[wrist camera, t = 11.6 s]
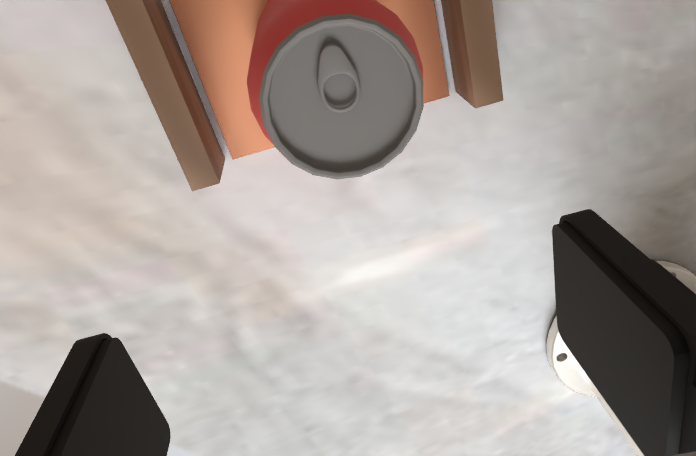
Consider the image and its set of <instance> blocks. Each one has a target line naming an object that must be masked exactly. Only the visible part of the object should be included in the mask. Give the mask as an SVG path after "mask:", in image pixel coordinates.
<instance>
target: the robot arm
mask: <svg viewBox="0 0 696 456" xmlns="http://www.w3.org/2000/svg"><path fill="white" fill-rule="evenodd" d="M552 236H553V255H554V275H555V295H556V314H557V316H556V317H555V319H554V321H553V323H552V326H551V328H550V330H549V334H548V339H547V357H548V360H549V363H550V366H551V367H552V369H553V371H554V372H555V374H556V376H557V377H558V378H559V380H560V381H561V382H562V383H563V384H564V385H565V386H567V387H568V388H570V389H571V390H572V391H575V392H577V393H580V394H582V395H586V396H591V397H597V399H598V400H599V402H600V403H601V405H602V406H603V407H604V409H605V410H606V412H607V413H608V415H609V416H610V417H611V419H612V420H613V422H614V423H615V425H616V426H617V427H618V429H619V430H620V432H621V433H622V434H623V436H624V437H625V439H626V440H627V442H628V443H629V444H630V446H631V447H632V449H633V450H634V452H635V453H636V454H637V456H696V276H695V275H694V274H693V273H691V272H690V271H689V270H687V269H685V268H683V267H682V266H680V265H678V264H674V263H670V262H666V261H654V260H650V259H649V258H648V257H647V256H645V255H644V254H643V253H642V252H641V251H640V250H638V249H637V248H636V247H635V246H634V245H633V244H631V243H630V242H629V241H628V240H627V239H626V238H624V237H623V236H622V235H621V234H620V233H619V232H617V231H616V230H615V229H614V228H613V227H611V226H610V225H609V224H608V223H607V222H606V221H604V220H603V219H602V218H601V217H600V216H599V215H597V214H596V213H595V212H594V211H592V210H591V209H587V210H583V211H579V212H576V213H572V214H568V215H564V216H562V217H561V218H560V221H559V224H557V225H554V226H553V229H552ZM169 443H170V428H169V425H168V423H167V421H166V419H165V417H164V415H163V414H162V412H161V410H160V408H159V407H158V405H157V403H156V401H155V400H154V398H153V396H152V394H151V393H150V391H149V389H148V387H147V386H146V384H145V382H144V380H143V379H142V377H141V375H140V374H139V372H138V370H137V368H136V367H135V365H134V363H133V361H132V360H131V358H130V356H129V354H128V353H127V351H126V349H125V347H124V346H123V344H122V342H121V341H120V340H119V339H118V338H112V337H111V336H110V335H108V334H105V333H103V334H99V335H95V336H91V337H87V338H84V339H80V340H77V341H76V342H75V343H74V345H73V347H72V349H71V350H70V352H69V354H68V356H67V358H66V360H65V362H64V364H63V366H62V367H61V369H60V371H59V373H58V375H57V377H56V379H55V381H54V383H53V384H52V386H51V388H50V390H49V392H48V394H47V396H46V398H45V400H44V401H43V403H42V405H41V407H40V409H39V411H38V413H37V415H36V417H35V419H34V420H33V422H32V424H31V426H30V428H29V430H28V432H27V434H26V436H25V438H24V439H23V441H22V443H21V445H20V447H19V449H18V451H17V453H16V455H15V456H167V451H168V447H169Z"/></svg>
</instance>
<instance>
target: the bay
mask: <svg viewBox="0 0 696 456" xmlns="http://www.w3.org/2000/svg"><path fill="white" fill-rule="evenodd" d="M169 1H170V3H171V6H172V8H173V11H174V13H175V16H176V18H177V21H178V23H179V26H180V28H181V31H182V33H183V36H184V38H185V41H186V43H187V46H188V48H189V51H190V54H191V56H192V59H193V61H194V64H195V66H196V69H197V71H198V74H199V76H200V79H201V81H202V84H203V86H204V89H205V91H206V94H207V96H208V99H209V101H210V104H211V106H212V109H213V111H214V114H215V116H216V119H217V121H218V124H219V126H220V129H221V131H222V134H223V137H224V139H225V142H226V144H227V147H228V149H229V152H230V154H231V157H232V159H236V158H239V157H243V156H246V155H250V154H253V153H256V152H260V151H263V150H267V149H270V148H274V147H275V146H274V145H273V144H272V143H271V142H270V141H269V140H268V139H267V138H266V137H265V135H264V134H263V132H262V130H261V128H260V126H259V124H258V122H257V120H256V118H255V116H254V114H253V112H252V110H251V106H250V100H249V94H248V87H247V76H248V70H249V63H250V57H251V51H252V47H253V42H254V38H255V33H256V28H257V24H258V19H259V17H260V15H261V13H262V11H263V10H264V8H265V6H266V4H267V2H268V0H169ZM376 1H378V2H379V3H380V4H382V5H383V6H385V7H386V8H388V9H389V10H391V11H392V12H394V13H395V14H397V16H398V17H399V18H400V20H401V21H402V22H403V24H404V25H405V26H406V28H407V29H408V31H409V32H410V33H411V35H412V36H413V37H414V40H415V43H416V46H417V49H418V52H419V55H420V58H421V61H422V65H423V104H424V103H427V102H430V101H434V100H437V99H441V98H444V97H447V96H449V90H448V84H447V78H446V72H445V66H444V60H443V54H442V48H441V42H440V36H439V30H438V24H437V18H436V12H435V6H434V0H376ZM106 2H107V4H108V6H109V9H110V11H111V13H112V15H113V17H114V20H115V22H116V24H117V26H118V29H119V31H120V33H121V35H122V37H123V40H124V42H125V44H126V46H127V48H128V51H129V53H130V55H131V57H132V59H133V62H134V64H135V66H136V68H137V70H138V73H139V75H140V77H141V79H142V81H143V84H144V86H145V88H146V90H147V92H148V95H149V97H150V99H151V101H152V104H153V106H154V108H155V110H156V112H157V115H158V117H159V119H160V121H161V123H162V126H163V128H164V130H165V132H166V134H167V137H168V139H169V141H170V143H171V145H172V148H173V150H174V152H175V154H176V156H177V159H178V161H179V163H180V165H181V167H182V170H183V172H184V174H185V176H186V179H187V181H188V183H189V185H190V187H191V190H192V191H195V190H198V189H202V188H205V187H208V186H212V185H215V184H219V183H220V179H221V174H222V170H223V166H224V161H225V158H224V156H223V153H222V151H221V148H220V146H219V144H218V141H217V139H216V136H215V134H214V131H213V129H212V126H211V124H210V121H209V119H208V116H207V114H206V111H205V109H204V107H203V104H202V102H201V99H200V97H199V94H198V92H197V89H196V87H195V84H194V82H193V79H192V77H191V74H190V72H189V70H188V67H187V65H186V62H185V60H184V57H183V55H182V52H181V50H180V47H179V45H178V42H177V40H176V37H175V35H174V33H173V30H172V28H171V25H170V23H169V20H168V18H167V15H166V13H165V10H164V8H163V5H162V3H161V0H106ZM441 2H442V9H443V15H444V21H445V27H446V34H447V40H448V46H449V53H450V59H451V65H452V71H453V78H454V84H455V90H456V92H457V93H458V94H459V95H460V96H461V97H463V98H464V99H465V100H466V101H467V102H469V103H470V104H471V105H472V106H473V107H475V108H479V107H482V106H485V105H489V104H492V103H496V102H499V101H503V93H502V85H501V76H500V67H499V59H498V50H497V41H496V33H495V24H494V15H493V7H492V0H441Z"/></svg>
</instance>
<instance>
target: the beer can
mask: <svg viewBox="0 0 696 456" xmlns="http://www.w3.org/2000/svg"><path fill="white" fill-rule="evenodd" d="M247 87H248V94H249V100H250V106H251V110H252V112H253V114H254V116H255V118H256V120H257V122H258V124H259V126H260V128H261V130H262V132H263V134H264V135H265V137H266V138H267V139H268V140H269V141H270V142H271V143H272V144H273V145H274V146H275V147H276V148H277V149H278V150H279V151H280V152H281V153H282V154H283V155H284V156H285V157H286V158H287V159H288V160H289V161H290V162H291V163H292V164H293V165H295V166H297V167H299V168H301V169H303V170H305V171H307V172H309V173H311V174H312V175H317V176H322V177H328V178H333V179H343V178H352V177H361V176H363V175H365V174H368V173H370V172H373V171H375V170H377V169H380V168H382V167H384V166H385V165H386V164H387V163H389V162H390V161H391V160H392V159H393V158H395V157H396V156H397V155H398V154H400V153H401V152H402V151H403V149H404V148H405V146H406V145H407V143H408V142H409V140H410V139H411V138H412V136H413V135H414V133H415V132H416V129H417V126H418V123H419V120H420V116H421V113H422V110H423V65H422V61H421V58H420V55H419V52H418V49H417V46H416V43H415V40H414V37H413V36H412V35H411V33H410V32H409V31H408V29H407V28H406V26H405V25H404V24H403V22H402V21H401V20H400V18H399V17H398V16H397V14H395V13H394V12H392V11H391V10H389V9H388V8H386V7H385V6H383V5H382V4H380V3H379V2H378V1H376V0H268V2H267V4H266V6H265V8H264V10H263V11H262V13H261V15H260V17H259V19H258V24H257V28H256V33H255V38H254V42H253V47H252V51H251V57H250V63H249V70H248V76H247Z"/></svg>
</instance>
